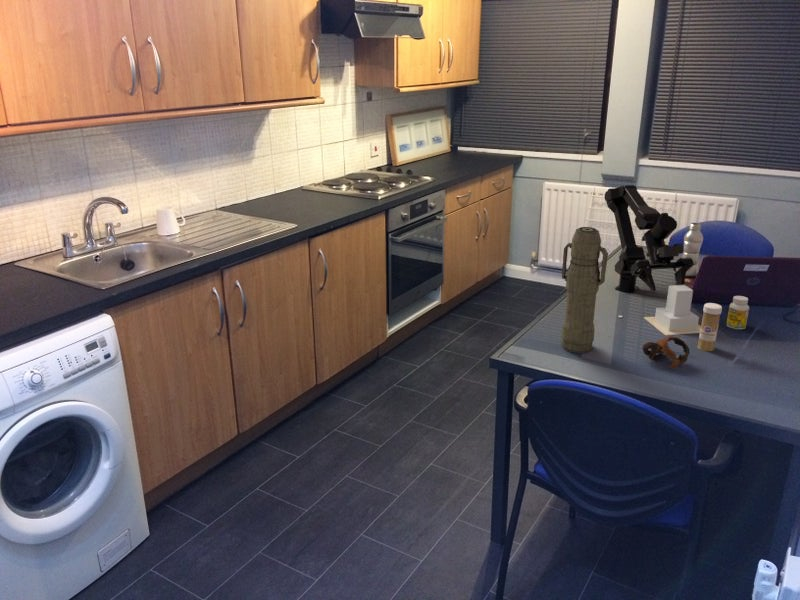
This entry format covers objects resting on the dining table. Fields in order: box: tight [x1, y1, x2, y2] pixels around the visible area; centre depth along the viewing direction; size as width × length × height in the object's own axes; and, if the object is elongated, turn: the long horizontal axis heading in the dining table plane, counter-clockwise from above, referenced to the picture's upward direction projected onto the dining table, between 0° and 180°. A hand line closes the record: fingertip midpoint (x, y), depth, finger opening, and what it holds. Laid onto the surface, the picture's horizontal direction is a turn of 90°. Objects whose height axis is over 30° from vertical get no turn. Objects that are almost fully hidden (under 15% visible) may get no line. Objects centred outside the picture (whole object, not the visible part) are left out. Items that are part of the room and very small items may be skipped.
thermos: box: [561, 226, 609, 354], centre depth 181 cm, size 9×12×35 cm
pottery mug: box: [642, 335, 691, 370], centre depth 176 cm, size 12×10×8 cm
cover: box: [654, 284, 700, 331], centre depth 197 cm, size 9×9×12 cm
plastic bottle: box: [681, 222, 704, 277], centre depth 240 cm, size 6×7×20 cm
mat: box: [643, 316, 701, 336], centre depth 199 cm, size 14×14×1 cm
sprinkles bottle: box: [696, 302, 723, 352], centre depth 181 cm, size 5×5×14 cm
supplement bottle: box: [726, 295, 750, 330], centre depth 196 cm, size 5×5×10 cm
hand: (668, 290), depth 202 cm, fingers open, 9 cm apart
